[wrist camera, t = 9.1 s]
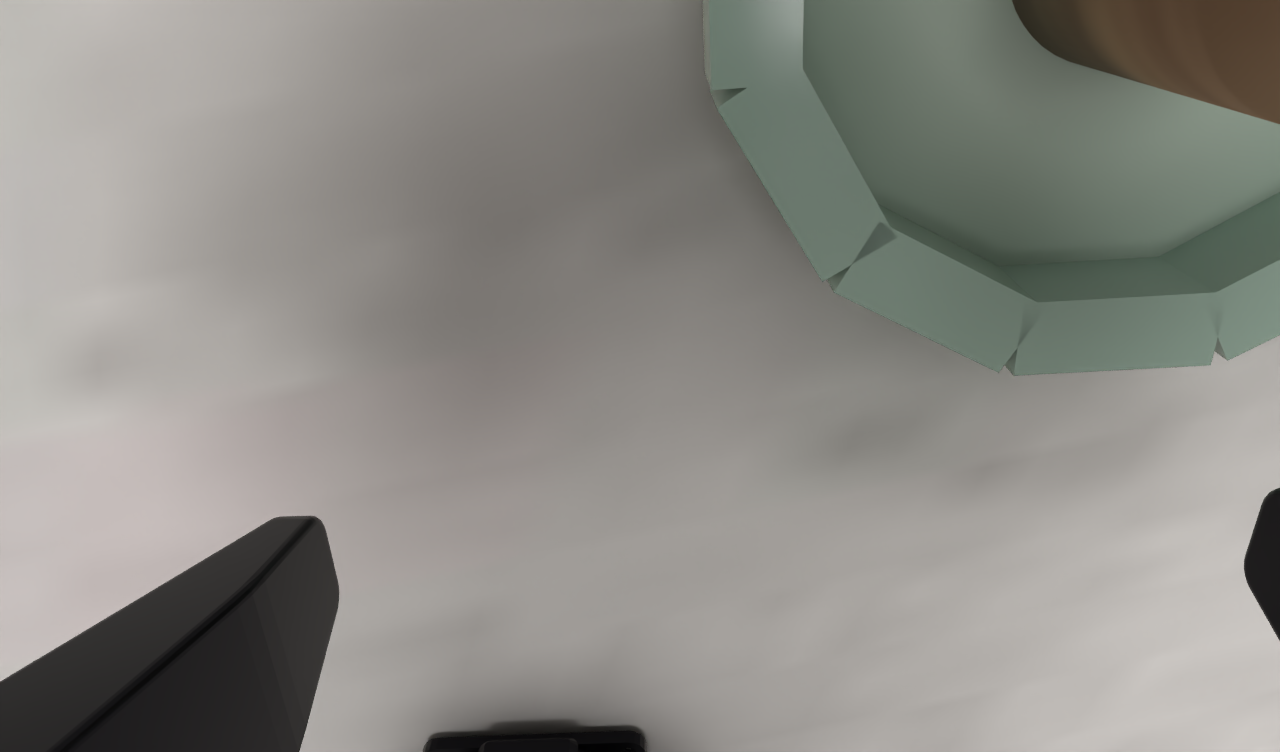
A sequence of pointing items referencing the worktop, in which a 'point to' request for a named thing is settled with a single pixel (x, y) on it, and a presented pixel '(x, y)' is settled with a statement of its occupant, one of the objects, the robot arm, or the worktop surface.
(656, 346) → the worktop surface
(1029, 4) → the brown cylinder
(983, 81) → the dish
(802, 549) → the worktop surface
